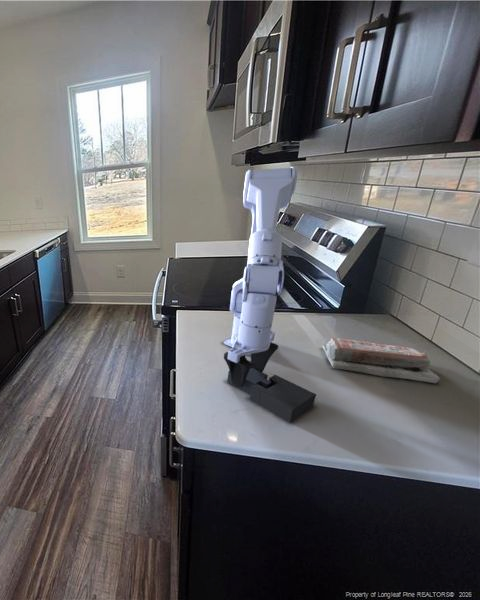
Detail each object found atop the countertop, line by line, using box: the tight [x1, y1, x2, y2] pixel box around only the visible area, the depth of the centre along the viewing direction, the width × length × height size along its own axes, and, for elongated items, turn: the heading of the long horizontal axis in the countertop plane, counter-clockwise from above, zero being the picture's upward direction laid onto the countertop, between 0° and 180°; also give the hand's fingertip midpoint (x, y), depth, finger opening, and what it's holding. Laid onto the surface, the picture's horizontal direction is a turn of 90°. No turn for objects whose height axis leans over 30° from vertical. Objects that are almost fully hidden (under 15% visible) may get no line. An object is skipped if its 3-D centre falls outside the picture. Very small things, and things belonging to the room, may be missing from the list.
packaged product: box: [322, 337, 440, 384], centre depth 73 cm, size 18×5×10 cm
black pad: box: [249, 374, 317, 424], centre depth 63 cm, size 8×8×3 cm
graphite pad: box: [226, 368, 272, 395], centre depth 69 cm, size 5×8×3 cm, turn 34°
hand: (247, 378), depth 69 cm, fingers open, 7 cm apart
